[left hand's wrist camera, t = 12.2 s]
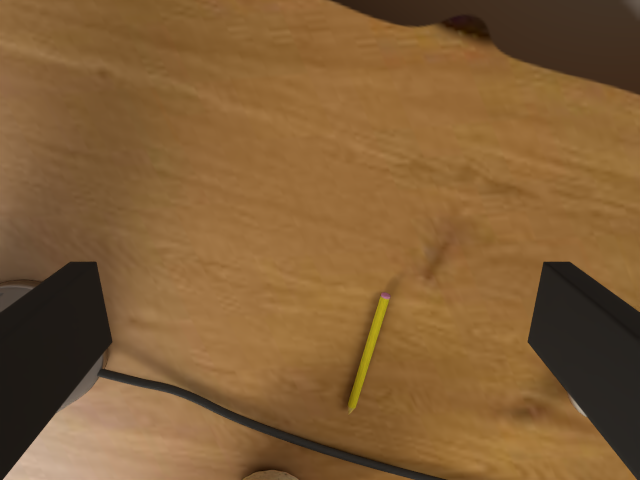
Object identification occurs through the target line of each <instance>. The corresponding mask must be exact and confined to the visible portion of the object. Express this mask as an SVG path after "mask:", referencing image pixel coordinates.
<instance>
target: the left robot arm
mask: <svg viewBox="0 0 640 480" xmlns="http://www.w3.org/2000/svg"><path fill="white" fill-rule="evenodd" d="M111 343H112V337H111V332H110V327H109V322H108V317H107V312H106V307H105V302H104V297H103V292H102V287H101V282H100V277H99V272H98V267H97V262H69V263H68V264H67V265H65V266H64V267H62V268H61V269H60V270H58V271H57V272H55V273H54V274H53V275H51V276H50V277H49V278H47V279H46V280H44V281H43V282H38V281H30V280H15V281H8V282H4V283H1V284H0V480H3V479H4V477H5V476H6V475H7V474H8V472H9V471H10V470H11V469H12V467H13V466H14V465H15V464H16V462H17V461H18V460H19V459H20V457H21V456H22V455H23V454H24V452H25V451H26V450H27V449H28V447H29V446H30V445H31V444H32V442H33V441H34V440H35V439H36V437H37V436H38V435H39V433H40V432H41V431H42V430H43V428H44V427H45V426H46V425H47V423H48V422H49V421H50V420H51V418H52V417H53V416H54V415H55V413H57V412H58V411H60V410H62V409H63V408H65V407H66V406H68V405H69V404H71V403H72V402H74V401H76V400H77V399H79V398H80V397H81V396H83V395H84V394H85V393H86V392H88V391H89V390H90V389H91V388H92V386H93V385H94V384H95V382H96V381H97V380H98V378H99V377H103V378H107V379H111V380H115V381H119V382H123V383H127V384H131V385H135V386H139V387H144V388H149V389H154V390H159V391H163V392H167V393H171V394H174V395H177V396H179V397H182V398H185V399H187V400H190V401H192V402H194V403H196V404H199V405H201V406H203V407H205V408H207V409H209V410H211V411H213V412H215V413H217V414H219V415H221V416H223V417H225V418H228V419H230V420H232V421H235V422H237V423H239V424H242V425H244V426H247V427H249V428H252V429H255V430H257V431H260V432H263V433H265V434H268V435H271V436H273V437H276V438H279V439H282V440H285V441H288V442H291V443H293V444H296V445H299V446H302V447H305V448H308V449H311V450H314V451H317V452H320V453H323V454H326V455H330V456H333V457H336V458H339V459H343V460H346V461H349V462H353V463H356V464H359V465H363V466H366V467H370V468H373V469H377V470H381V471H384V472H388V473H392V474H396V475H399V476H403V477H407V478H411V479H415V480H446V479H442V478H438V477H434V476H430V475H426V474H422V473H418V472H414V471H411V470H407V469H403V468H399V467H395V466H392V465H388V464H384V463H381V462H377V461H374V460H370V459H367V458H363V457H360V456H356V455H353V454H350V453H346V452H343V451H340V450H337V449H333V448H330V447H327V446H324V445H321V444H318V443H315V442H312V441H309V440H306V439H303V438H300V437H297V436H294V435H292V434H289V433H286V432H283V431H280V430H277V429H275V428H272V427H269V426H267V425H264V424H261V423H259V422H256V421H254V420H251V419H249V418H246V417H244V416H241V415H239V414H236V413H234V412H232V411H229V410H227V409H225V408H223V407H221V406H219V405H217V404H215V403H213V402H211V401H209V400H207V399H205V398H203V397H201V396H199V395H196V394H194V393H192V392H189V391H187V390H184V389H181V388H179V387H176V386H172V385H169V384H165V383H161V382H156V381H151V380H146V379H142V378H137V377H133V376H129V375H125V374H121V373H118V372H114V371H110V370H106V369H105V366H106V363H107V359H108V347H109V346H110V344H111ZM528 343H529V344H530V346H531V347H532V348H533V349H534V351H535V352H536V353H537V354H538V356H539V357H540V358H541V359H542V361H543V362H544V363H545V364H546V366H547V367H548V368H549V369H550V371H551V372H552V373H553V374H554V376H555V377H556V378H557V380H558V381H559V382H560V383H561V385H562V386H563V387H564V388H565V390H566V391H567V392H568V393H569V395H570V396H571V397H572V398H573V400H574V401H575V402H576V403H577V405H578V406H579V407H580V408H581V410H582V411H583V412H584V413H585V415H586V416H587V417H588V418H589V420H590V421H591V422H592V423H593V425H594V426H595V427H596V428H597V430H598V431H599V432H600V433H601V435H602V436H603V437H604V439H605V440H606V441H607V442H608V444H609V445H610V446H611V447H612V449H613V450H614V451H615V452H616V454H617V455H618V456H619V457H620V459H621V460H622V461H623V462H624V464H625V465H626V466H627V467H628V469H629V470H630V471H631V472H632V474H633V475H634V476H635V477H636V479H637V480H640V312H638V311H637V310H636V309H634V308H633V307H632V306H630V305H629V304H627V303H626V302H625V301H623V300H622V299H620V298H619V297H618V296H616V295H615V294H614V293H612V292H611V291H609V290H608V289H607V288H605V287H604V286H602V285H601V284H600V283H598V282H597V281H596V280H594V279H593V278H591V277H590V276H589V275H587V274H586V273H585V272H583V271H582V270H580V269H579V268H578V267H576V266H575V265H573V264H572V263H571V262H543V267H542V272H541V277H540V282H539V287H538V292H537V297H536V302H535V307H534V312H533V317H532V322H531V327H530V332H529V337H528Z"/></svg>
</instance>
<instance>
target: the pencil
mask: <svg viewBox="0 0 640 480" xmlns="http://www.w3.org/2000/svg"><path fill="white" fill-rule="evenodd" d="M389 299H390V295H389V294H388V293H381V296H380V300H379V303H378V306H377V310H376V313H375V316H374V319H373V323H372V326H371V329H370V333H369V336H368V339H367V342H366V346H365V349H364V352H363V356H362V359H361V362H360V365H359V369H358V372H357V375H356V379H355V382H354V385H353V389H352V392H351V395H350V398H349V402H348V413H349V414H350V413H351V412H352V411H353V410H354V409H355V407H356V404H357V401H358V398H359V395H360V392H361V388H362V385H363V382H364V379H365V376H366V372H367V369H368V366H369V363H370V360H371V356H372V353H373V350H374V347H375V344H376V340H377V337H378V334H379V331H380V328H381V324H382V321H383V318H384V315H385V312H386V308H387V305H388V302H389Z"/></svg>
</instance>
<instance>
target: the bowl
mask: <svg viewBox="0 0 640 480" xmlns="http://www.w3.org/2000/svg"><path fill="white" fill-rule="evenodd" d="M243 480H299V479H297V478H296V477H294V476H292V475H290V474H289V473H287V472H283V471H282V472H281V471H276V470H268V471H259V472H255V473H253V474H251V475H249V476H248V477H245V478H244V479H243Z"/></svg>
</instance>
